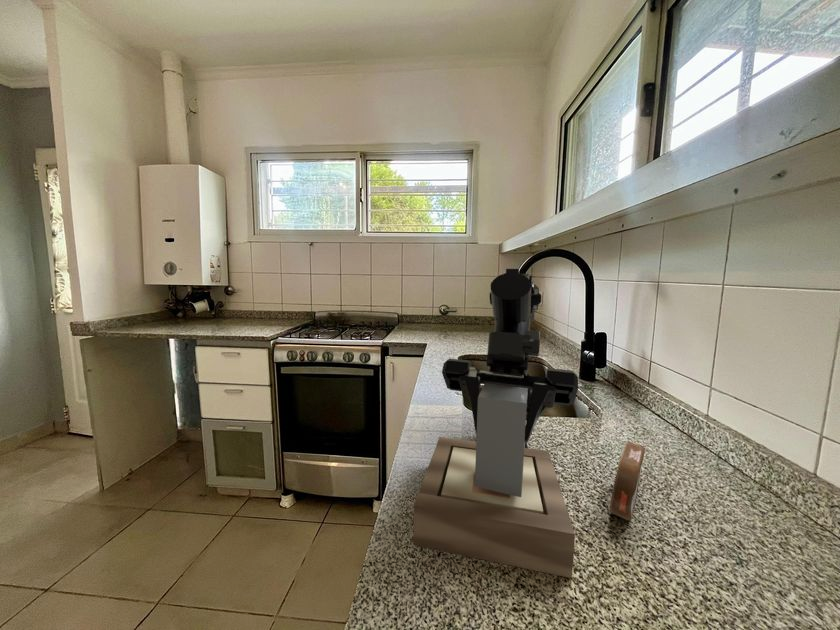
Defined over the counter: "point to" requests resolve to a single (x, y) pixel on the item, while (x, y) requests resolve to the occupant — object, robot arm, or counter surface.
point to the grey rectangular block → (501, 438)
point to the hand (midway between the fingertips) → (500, 437)
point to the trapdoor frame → (495, 519)
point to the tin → (627, 481)
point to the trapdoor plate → (463, 488)
